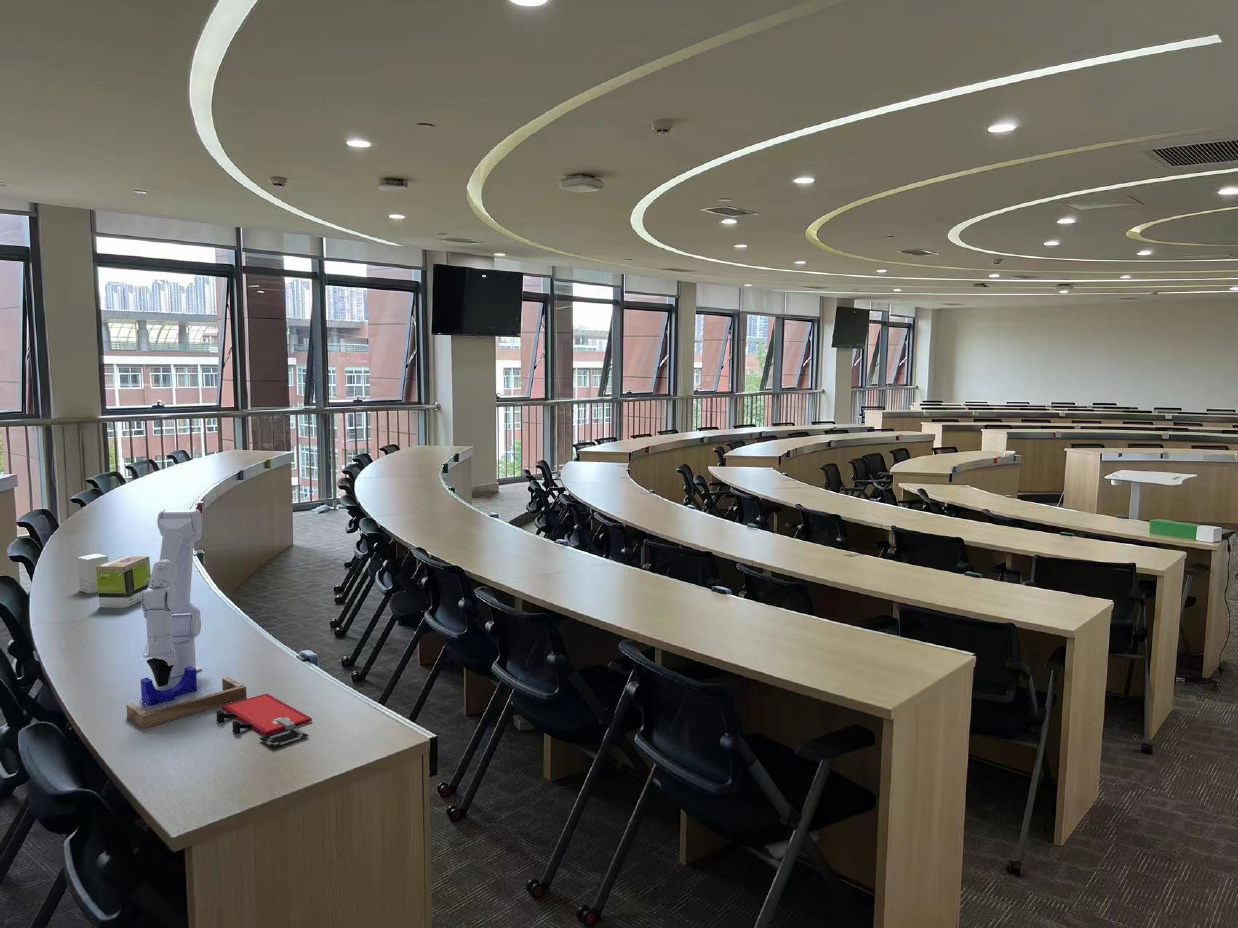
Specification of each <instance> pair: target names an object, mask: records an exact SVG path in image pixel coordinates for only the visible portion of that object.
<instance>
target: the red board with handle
mask: <svg viewBox="0 0 1238 928" xmlns="http://www.w3.org/2000/svg"><path fill="white" fill-rule="evenodd" d="M222 709H223V710H222ZM224 710H225V711H226V712H225V711H224ZM236 718H237V719H236ZM225 719H236V720H232V722H231V723H232V733H233V732H234V733H233V734H235V735H239V734H241V730H242V729H244V730H245V729H252V730H254V731H256V732H257V733H259V734H260V735H261V736H262V737H259V738H258V739H259V740H261V741H263V742H264V743H265V744H267V745H268V746H270V747H272V748H275V747H277V746H278V747H279V746H281V745H285V744H287V743H290V742H294V741H297V740H300V739H303V738H306V737H309V736H310V735H309V734H307V733H305V732H304V731H302V730H300V729H299V728H298V727H300V726H299V725H301V726H303V725H302V724H304V725H307V724H309V723H308V722H310V721H312V722H313V719H312V717H311V716H308V715H307V714H305V713H303V712H301V711H299V710H298V709H296V708H294V707H292V706H290V705H289V704H287V703H285V702H283V701H282V700H279V699H278V698H276V697H274V696H272V695H270V694H269V693H264V694H259V695H257V696H252V697H248V698H245V699H242V700H238V701H235V702H232V703H228V704H225V705H222V706H221V710H216V722H217V721H218V722H217V723H218V724H223V723H222V722H224V723H225ZM306 723H307V724H306ZM310 723H311V722H310ZM295 726H298V727H295Z"/></svg>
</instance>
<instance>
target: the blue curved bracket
mask: <svg viewBox="0 0 1238 928" xmlns="http://www.w3.org/2000/svg"><path fill="white" fill-rule="evenodd" d="M197 683H198V681H197V671H196V669H195V668H193V667H192V666H189V667H185V670H184V674H183V675H182V677H181V679H180V680H179V681H178V682H177V684H175V685H174V686H172V687H170V688H167V689H162V690H160V689H157V688H155V686H154V682H153V680H152V679H151V678H149V677H144V678H141V679H140V693H141V702H142V701H143V702H144V703H146V704H147V705H146V704H145V705H146V706H148V707H149V706H151V707H153V705H154V706H157V705H160V704H164V703H163V702H165V703H168V702H171V701H175V700H176V697H180V696H184V695H187V694H190V693H191V694H192V693H194V692H197V691H198V685H197ZM143 702H142V703H143ZM144 703H143V704H144Z"/></svg>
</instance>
